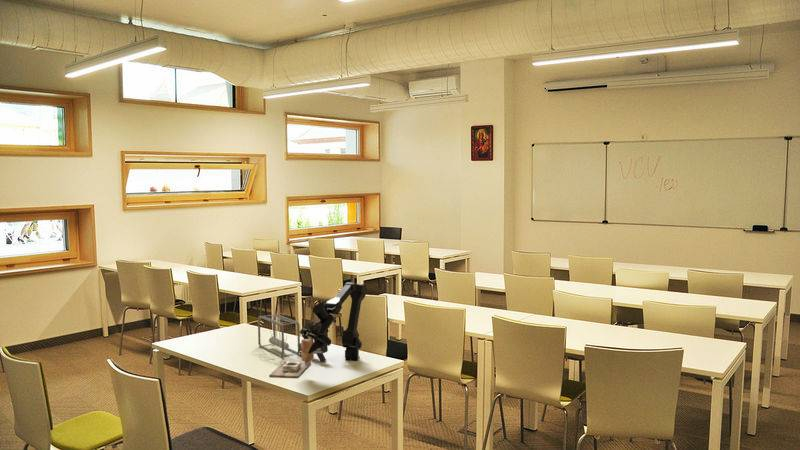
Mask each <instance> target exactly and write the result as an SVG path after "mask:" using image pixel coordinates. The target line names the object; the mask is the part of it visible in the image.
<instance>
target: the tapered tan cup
mask: <svg viewBox="0 0 800 450" xmlns="http://www.w3.org/2000/svg"><path fill="white" fill-rule="evenodd" d="M313 342H314V338H312V339H304V338H302V339H300V343H301V345H302V354H301V361H302V362H305V366H309V367H310V366H312V361H314V360H315V359H314V357H315V354H314V352H312V353H310V354H309V353H308V352H309V350H310V348H311V346H312V345H313Z"/></svg>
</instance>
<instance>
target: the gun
mask: <svg viewBox="0 0 800 450" xmlns="http://www.w3.org/2000/svg"><path fill="white" fill-rule="evenodd" d="M313 343H314V341H313ZM324 345H325V344H324ZM297 346H298V343H297ZM301 347H302V345H301V342H300V353H299V355H302V351H301ZM328 347H329V346H327V345H325V346H323V347H321V348H319V349H317V350H315V351H314V355H316V356H317V358H318V360H319V362H320V363H321V362H323V363H324V362H326V361H327V359H326V357H325V355H324V354H325V353H327V352H329V351H328V350H329V348H328Z"/></svg>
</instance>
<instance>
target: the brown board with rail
mask: <svg viewBox="0 0 800 450" xmlns="http://www.w3.org/2000/svg"><path fill="white" fill-rule="evenodd" d="M309 367H310V366H305V362H304V361H302V362H301V361H283V362H282V363H281V364H279V366H278V367H277V368H275V369H274V370H273V371H272V372H271V373H270V374H269V375H268V376H269V378H293V379H294V378H295V379H298V378H300V377H301V375H303V373H304V372H305V371H306V370H307V369H309Z"/></svg>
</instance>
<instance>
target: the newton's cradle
mask: <svg viewBox="0 0 800 450" xmlns="http://www.w3.org/2000/svg"><path fill="white" fill-rule="evenodd" d="M270 316H271V317H270ZM277 319H278V320H277ZM261 320H265V321H267V322H268V323H271V324H272V326H271V327H270V324H268V325H269V328H271V329H272V332H273V333H272V332H271V329H269V330H270V331H269V332H270V333H272V334H271V337H269V339H268V342H269V344H265V345H262V344H261ZM281 320H282V321H281ZM284 321H285V322H287V323H284ZM293 324H296V326H297V344H298V345H297V350H295V349H291V348H290V345H289V343H288V342H287V341H286V340H287V337H288V336H286V338H285V335H284V334H285V328H286V327H285V326H286V325H287V326H289V325H293ZM276 325H277V328H276ZM279 326H280V329H279ZM277 330H279V331H277ZM286 331H287V332H286V333H288V332H289V329H287V330H286ZM300 331H301V329H300V322H299V321H297V320H294V319H291V318H289V317H286V316H284V315H280V314H278V313H274V314H269V315H259V316H258V318H257V336H258V337H257V338H258V340H257V341H258V342H257V344H258V346H259V348H261V349H263V350H266V351H268V352H270V353H272V354H273V355H276V356H278V357H280V358H284V357H286V356H292V355H300V352H301V351H300V343H301V334H300V333H299V332H300ZM278 332H279V336H278ZM271 345H274V346H276V347H279V349H280V348H281V354H280V353H278V352H276V351H274V350H272V349H270V348H268V347H266V346H271ZM286 350H287V351H288V352H289V351H290V352H291V353H289V354H285V351H286Z"/></svg>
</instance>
